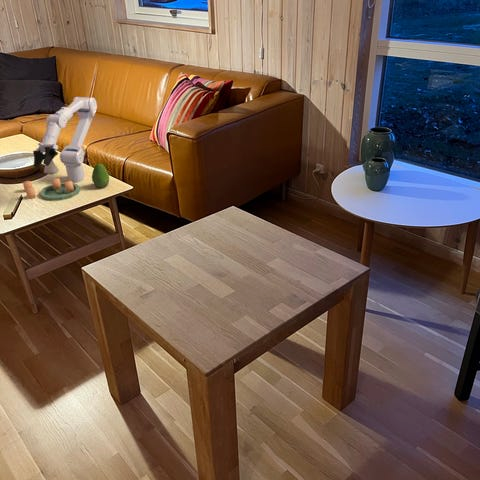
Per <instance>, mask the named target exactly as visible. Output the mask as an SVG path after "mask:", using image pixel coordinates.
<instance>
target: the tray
mask: <svg viewBox="0 0 480 480" xmlns="http://www.w3.org/2000/svg"><path fill="white" fill-rule="evenodd" d="M60 183H61V188H60V189H57V190H56V191H54V189H53V184H50V185H47V186H45V187H43V188H42V189H41V190H40V191H39V195H40V197H41V198H42V199H43V200H47V201H64V200H67V199H71V198H74V197H75V196H77V195H79V194H80V191H81V188H80V186H79V185H78V183H73V187H74V192H72V193H70V194H67V193H66V189H65V184H64V182H60Z"/></svg>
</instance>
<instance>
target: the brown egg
mask: <svg viewBox="0 0 480 480" xmlns="http://www.w3.org/2000/svg"><path fill="white" fill-rule="evenodd" d="M22 184H23V185H22V186H23V189H24V192H25V193H26V190H25V189H26V188H29V187H33V185H32V184H33V183H32V181H31V180H26V181H23V182H22Z"/></svg>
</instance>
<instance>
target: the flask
mask: <svg viewBox="0 0 480 480" xmlns="http://www.w3.org/2000/svg"><path fill="white" fill-rule="evenodd" d="M43 154H44V155H45V152H43ZM58 172H59V168H58V167H57V165H56V164H55V161H54V160H52V161H51V163H50V164H49V165H48V166H47V165H45V164H44V170H43V173H44V174H47V175H52V174H53V175H54V174H55V173H58Z"/></svg>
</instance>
